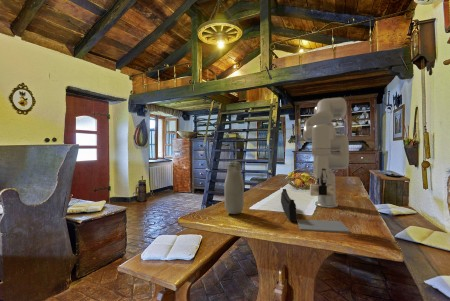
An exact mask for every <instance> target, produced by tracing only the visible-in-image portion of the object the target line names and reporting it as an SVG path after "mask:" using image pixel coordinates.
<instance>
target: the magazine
mask: <svg viewBox="0 0 450 301" xmlns="http://www.w3.org/2000/svg"><path fill="white" fill-rule="evenodd" d="M280 194H281V195H280V204H281V207H282V210H283V213H284V214H285V216H286V218H287V219H288V221H290V222H297V205H296V203H295V200H294V199H292V198H291V197H290V196H289V194H288V191H287V188H282V192H281V193H280Z"/></svg>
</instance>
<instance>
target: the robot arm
mask: <svg viewBox="0 0 450 301" xmlns="http://www.w3.org/2000/svg"><path fill="white" fill-rule="evenodd" d="M347 106H348V104H347V101H346V99H345V98H343V97H331V98H330V97H329V98H323V99H320V100H319V101H318V102H317V104H316V106H315V107H314V108H313V115H312V116H310V117H309V118H307V120H305V122H304V126H303V131H302V132H303V134H302V136H303V139H304V140H305V141H306V142H311V155H312V157H313V161H312V166H313V167H312V170H313V171H312V177H314V178H315V184H320V186H319V195H327V184H332V185H333V197H332V196H317V201H315V205H316V206H317V207H321V208H326V209H327V208H329V209H330V208H331V209H333V208H334V209H335V208H338V207H339V203H337V202H336V175H335V173H334V172H333V171H332V170H331V169H338V170H340V169H341V170H345V169H347V168H348V167H349V164H350V154H349V153H350V150H349V149H350V147H349V146H350V144H349V142H350V141H349V138H348V136H347V134H344V133H337V131H336V128H335V125H334V124H333V122H332V121H333V119H343V118H344V117H346V115H347V110H348V109H347ZM333 151H335V152H333ZM336 151H339V152H336Z"/></svg>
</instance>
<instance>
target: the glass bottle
mask: <svg viewBox="0 0 450 301" xmlns="http://www.w3.org/2000/svg"><path fill="white" fill-rule="evenodd" d="M243 178H244V177H243V174H242V164H241V162H239V161H234V160H232V161H229V162H228V163H227V171H226V177H225V180H224V186H223V187H224V188H223V189H224V208H225V210H226V212H227V213H228V214H230V215H239V214H240V213H242V212H243V209H244V205H245V202H244V201H245V199H244V197H245V196H244V194H245V182H244V179H243Z"/></svg>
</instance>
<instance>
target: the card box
mask: <svg viewBox="0 0 450 301" xmlns="http://www.w3.org/2000/svg"><path fill="white" fill-rule="evenodd" d="M319 186H320V184H316V183H310V184H309V194H310V196H311V197H312V196H313V197H318V196H332V197H333V185H332V184H327V195H319Z"/></svg>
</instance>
